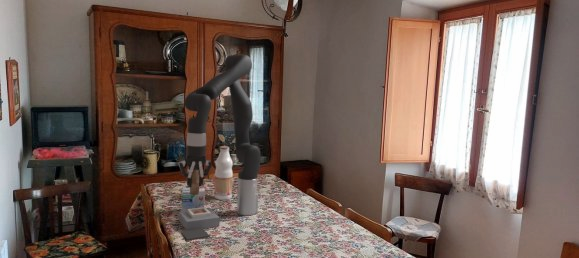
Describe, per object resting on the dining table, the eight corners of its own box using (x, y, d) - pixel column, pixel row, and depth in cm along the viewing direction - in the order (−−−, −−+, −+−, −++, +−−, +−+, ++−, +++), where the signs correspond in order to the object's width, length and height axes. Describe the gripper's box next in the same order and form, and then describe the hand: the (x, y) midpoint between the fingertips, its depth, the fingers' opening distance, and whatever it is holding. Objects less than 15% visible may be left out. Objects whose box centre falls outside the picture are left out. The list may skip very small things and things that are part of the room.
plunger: (201, 220, 168) (201, 210, 168) (204, 223, 165) (204, 213, 165) (193, 221, 167) (193, 211, 166) (195, 224, 163) (195, 214, 163)
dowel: (197, 192, 155) (198, 168, 154) (200, 194, 152) (201, 170, 151) (188, 193, 153) (189, 168, 152) (191, 195, 150) (192, 170, 149)
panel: (209, 216, 176) (209, 204, 175) (219, 226, 163) (219, 213, 163) (178, 220, 168) (178, 208, 168) (186, 231, 156) (187, 218, 156)
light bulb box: (181, 214, 176) (181, 191, 175) (181, 209, 183) (181, 187, 181) (204, 213, 179) (205, 191, 178) (204, 208, 185) (204, 187, 184)
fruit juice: (219, 201, 198) (221, 148, 195) (211, 196, 206) (212, 145, 203) (235, 198, 204) (236, 147, 201) (226, 194, 212) (227, 144, 208)
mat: (202, 229, 159) (202, 228, 159) (209, 236, 152) (209, 235, 152) (181, 232, 155) (181, 231, 155) (187, 240, 147) (187, 239, 147)
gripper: (210, 142, 157) (209, 183, 159) (176, 142, 150) (174, 185, 152) (216, 145, 151) (214, 187, 152) (180, 145, 144) (178, 189, 145)
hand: (194, 186), depth 152 cm, fingers closed on dowel, 3 cm apart
